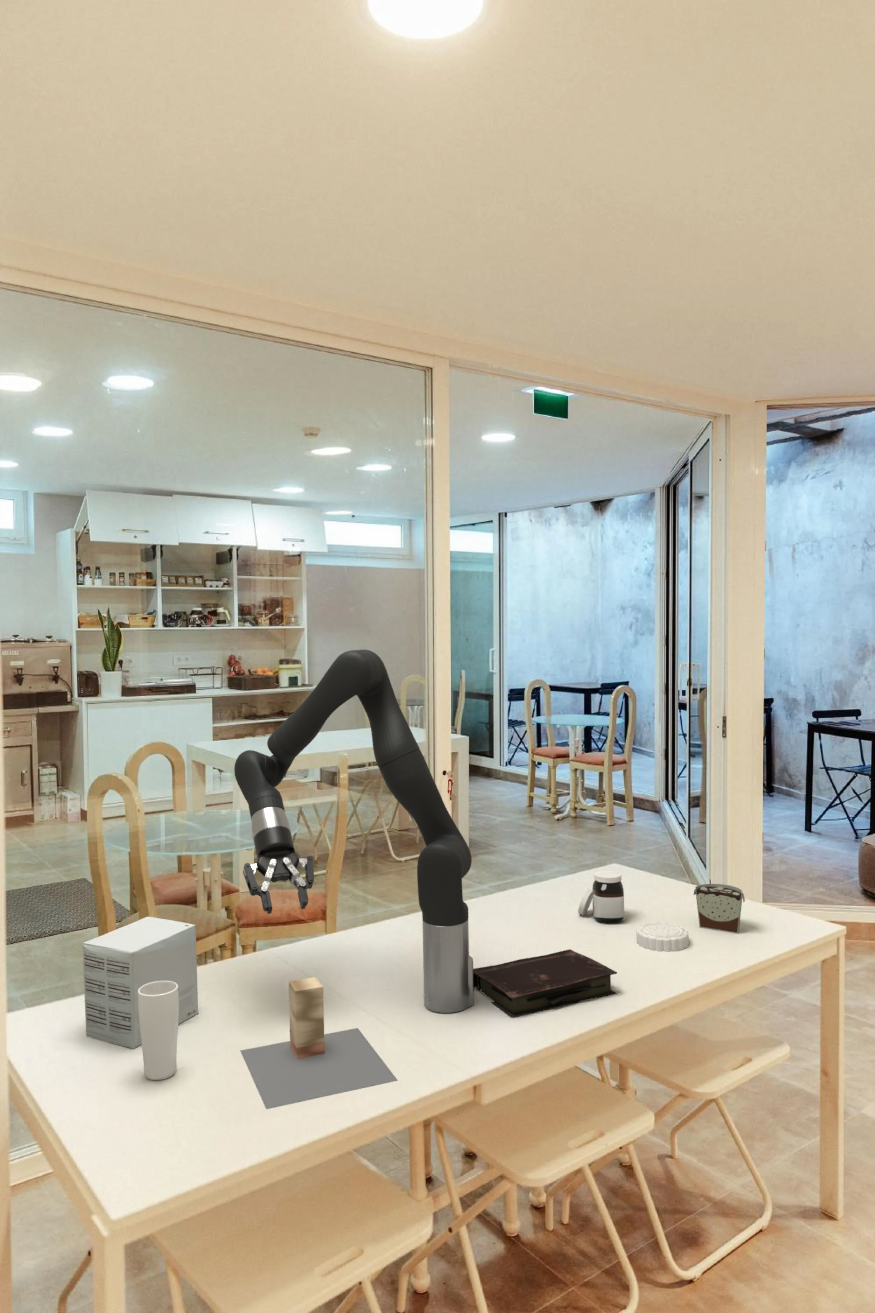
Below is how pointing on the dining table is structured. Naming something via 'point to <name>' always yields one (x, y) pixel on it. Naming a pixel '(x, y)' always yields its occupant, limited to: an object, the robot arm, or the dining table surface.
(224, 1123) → the dining table surface
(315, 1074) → the rubber mat
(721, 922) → the food container
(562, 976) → the diary
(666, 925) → the mooncake
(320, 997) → the oak block
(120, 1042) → the supplement box
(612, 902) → the spread jar
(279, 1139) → the dining table surface
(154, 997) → the drinking glass
